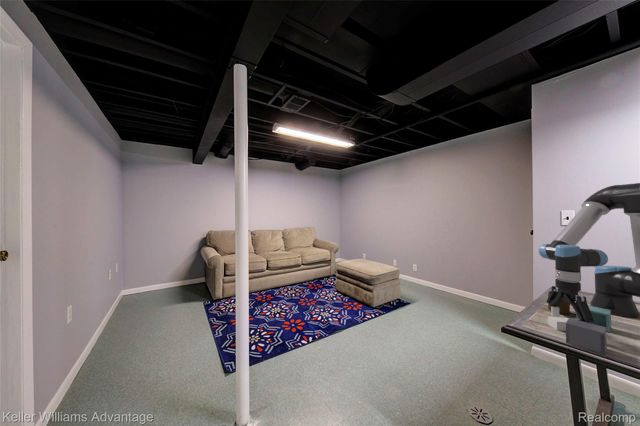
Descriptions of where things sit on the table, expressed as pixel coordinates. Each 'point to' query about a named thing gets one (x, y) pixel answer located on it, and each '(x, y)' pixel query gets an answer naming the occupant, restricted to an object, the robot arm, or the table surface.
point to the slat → (558, 322)
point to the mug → (561, 306)
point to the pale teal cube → (600, 317)
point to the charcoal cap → (586, 335)
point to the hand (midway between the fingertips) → (568, 328)
